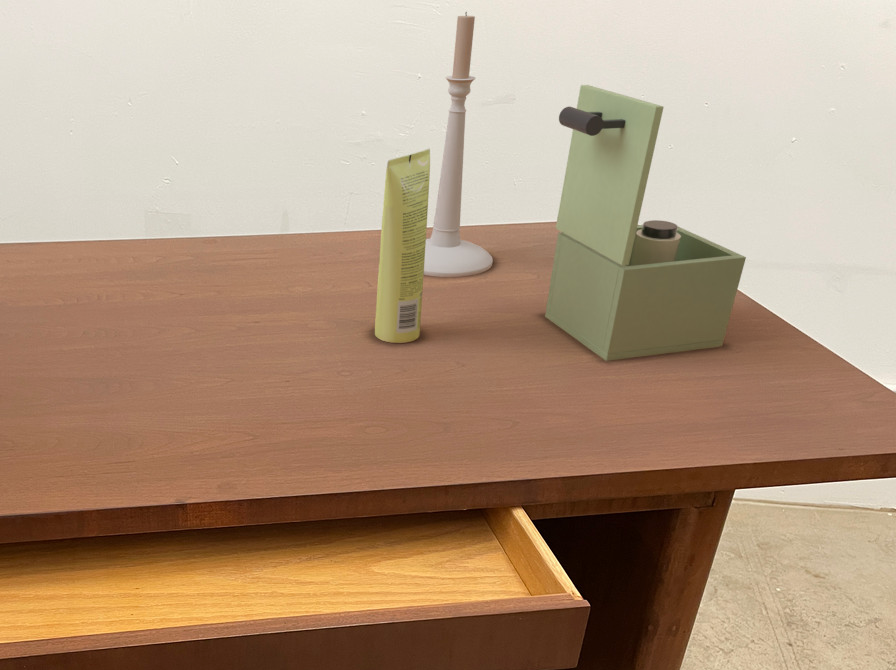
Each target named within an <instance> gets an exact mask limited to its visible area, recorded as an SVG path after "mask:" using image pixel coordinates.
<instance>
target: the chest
mask: <svg viewBox="0 0 896 670" xmlns="http://www.w3.org/2000/svg"><path fill="white" fill-rule="evenodd" d="M642 226H643V224H638V225H637V230H636V232H637V231H638V230H641V229H642ZM677 233H678V234H680V235H681V239H680V243H679V247H678V252H677V256H676V261H674V262H664V263H655V264H645V265H635V266H629V265H630V261H629V265H620V264H619V263H617V262H615V261H613V260H611V259H609V258H608V257H606V256H604V255H602V254H600V253H599V252H597V251H595V250H593V249H591V248H590V247H588V246H586V245H584V244H582V243H581V242H579V241H577V240H575V239H573V238H572V237H570V236H568V235H566V234H564V233H563V232H558V233H557V237H556V244H555V250H554V258H553V261H552V262H553V263H552V264H553V265H552V269H551V275H550V282H549V287H548V295H547V301H546V308H545V315H544V317H545V318H546V319H547V320H549V321H550V322H552V323H553V324H555V326H557V327H558V328H560V329H561V330H563V331H564V332H565V333H567V334H568V335H569V336H571V337H572V338H574V339H575V340H576V341H578V342H580V343H581V344H582V345H583V346H585V347H586V348H587V349H589V350H591V351H592V352H593V353H595V354H596V355H597V356H598V357H600V358H601V359H602V360H604V361H606V362H608V361H617V360H623V359H624V360H625V359H633V358H639V357H647V356H655V355H663V354H673V353H681V352H688V351H696V350H697V351H698V350H703V349H704V350H705V349H712V348H721V347H723V344H724V340H725V337H726V333H727V329H728V326H729V322H730V318H731V314H732V311H733V307H734V303H735V299H736V297H737V292H738V289H739V285H740V281H741V278H742V274H743V270H744V267H745V263H746V260H747V257H746V256H745V255H742V254H740V253H738V252H736V251H733V250H732V249H729V248H728V247H727V248H726V247H724V246H722V245H720V244H718V243H715V242H713V241H711V240H709V239H707V238H705V237H702V236H700V235H698V234H696V233H693V232H692V231H689V230H687V229H685V228H682V227H680V226H678V229H677ZM635 236H636V234H635ZM634 241H635V239H634ZM633 246H634V243H633ZM632 250H633V248H632ZM631 255H632V252H631ZM630 260H631V257H630Z"/></svg>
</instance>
